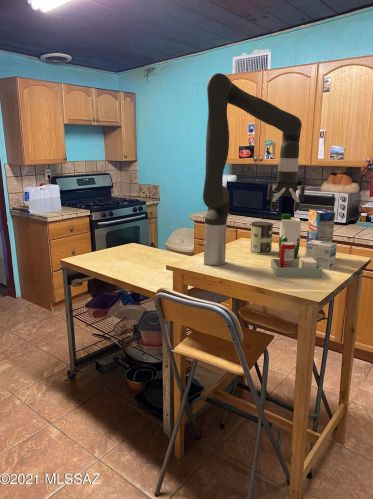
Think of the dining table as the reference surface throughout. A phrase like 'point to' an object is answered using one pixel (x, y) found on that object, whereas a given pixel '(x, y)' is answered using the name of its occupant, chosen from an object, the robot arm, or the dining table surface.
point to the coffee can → (261, 237)
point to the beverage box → (320, 225)
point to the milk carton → (290, 232)
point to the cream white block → (307, 263)
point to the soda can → (287, 255)
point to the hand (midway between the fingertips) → (284, 211)
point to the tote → (295, 270)
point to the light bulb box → (322, 253)
